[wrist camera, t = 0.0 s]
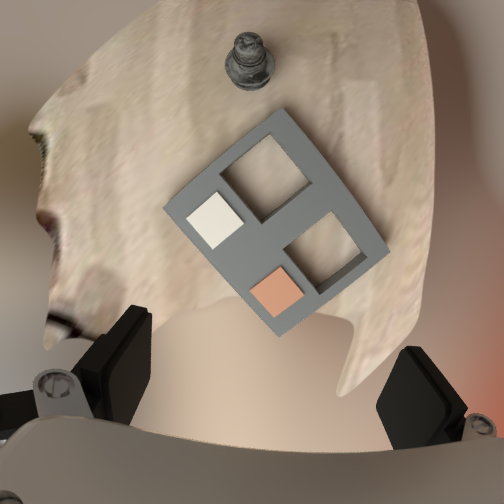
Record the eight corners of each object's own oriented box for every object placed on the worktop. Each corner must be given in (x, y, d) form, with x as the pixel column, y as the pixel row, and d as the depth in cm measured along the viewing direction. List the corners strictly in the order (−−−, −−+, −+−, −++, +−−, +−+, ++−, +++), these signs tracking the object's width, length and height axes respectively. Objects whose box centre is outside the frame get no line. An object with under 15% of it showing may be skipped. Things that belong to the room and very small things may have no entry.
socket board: (280, 110, 37) (282, 106, 34) (383, 247, 41) (391, 252, 39) (167, 205, 40) (161, 208, 38) (277, 328, 45) (278, 338, 42)
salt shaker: (238, 47, 35) (231, 5, 23) (280, 61, 35) (289, 24, 24) (220, 84, 36) (206, 52, 25) (262, 99, 37) (265, 72, 25)
